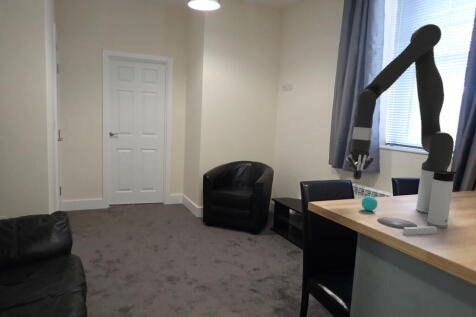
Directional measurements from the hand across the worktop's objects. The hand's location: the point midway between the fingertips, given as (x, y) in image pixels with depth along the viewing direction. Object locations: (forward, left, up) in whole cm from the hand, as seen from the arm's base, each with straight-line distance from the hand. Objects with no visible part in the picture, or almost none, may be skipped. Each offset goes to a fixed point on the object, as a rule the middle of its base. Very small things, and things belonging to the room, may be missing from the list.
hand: (356, 178), depth 144 cm
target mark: (0, +26, -11) cm, 28 cm away
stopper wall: (0, +36, -11) cm, 38 cm away
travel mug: (-14, +30, -11) cm, 35 cm away
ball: (0, +10, -8) cm, 12 cm away
